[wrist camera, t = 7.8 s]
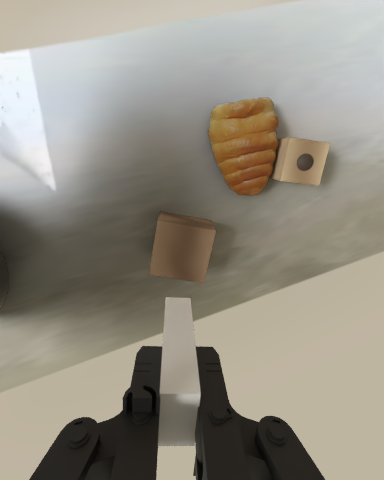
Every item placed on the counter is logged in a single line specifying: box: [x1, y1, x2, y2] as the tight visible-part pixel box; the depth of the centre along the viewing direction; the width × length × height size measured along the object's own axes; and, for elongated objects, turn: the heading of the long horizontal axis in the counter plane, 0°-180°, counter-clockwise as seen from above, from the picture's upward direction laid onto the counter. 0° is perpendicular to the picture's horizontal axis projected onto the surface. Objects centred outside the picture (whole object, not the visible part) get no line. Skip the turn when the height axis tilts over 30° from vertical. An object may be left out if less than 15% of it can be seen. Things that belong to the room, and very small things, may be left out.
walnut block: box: [149, 211, 216, 283], centre depth 29 cm, size 6×6×4 cm
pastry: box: [208, 97, 279, 195], centre depth 26 cm, size 9×7×4 cm
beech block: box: [269, 137, 330, 186], centre depth 27 cm, size 4×4×4 cm
